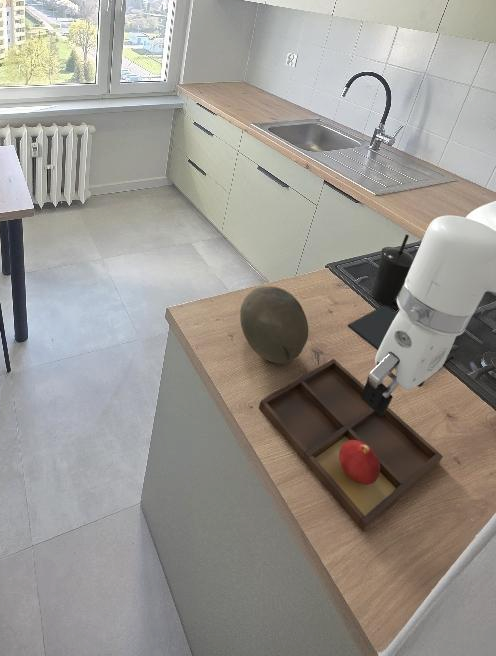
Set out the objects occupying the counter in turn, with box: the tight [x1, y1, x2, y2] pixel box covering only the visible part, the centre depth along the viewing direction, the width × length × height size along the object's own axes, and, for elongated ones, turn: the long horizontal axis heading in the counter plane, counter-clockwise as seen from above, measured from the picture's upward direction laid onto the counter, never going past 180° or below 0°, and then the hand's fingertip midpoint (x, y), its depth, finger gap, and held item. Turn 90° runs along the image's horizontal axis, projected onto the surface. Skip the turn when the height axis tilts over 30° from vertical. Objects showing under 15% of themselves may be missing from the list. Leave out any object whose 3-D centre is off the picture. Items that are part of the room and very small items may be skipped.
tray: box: [258, 358, 444, 532], centre depth 76 cm, size 21×21×2 cm
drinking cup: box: [371, 234, 415, 306], centre depth 105 cm, size 8×8×20 cm
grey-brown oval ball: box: [239, 285, 309, 364], centre depth 90 cm, size 14×14×15 cm
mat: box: [347, 305, 454, 362], centre depth 97 cm, size 16×14×1 cm
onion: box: [339, 440, 380, 485], centre depth 69 cm, size 6×6×8 cm
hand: (391, 391), depth 62 cm, fingers open, 9 cm apart
